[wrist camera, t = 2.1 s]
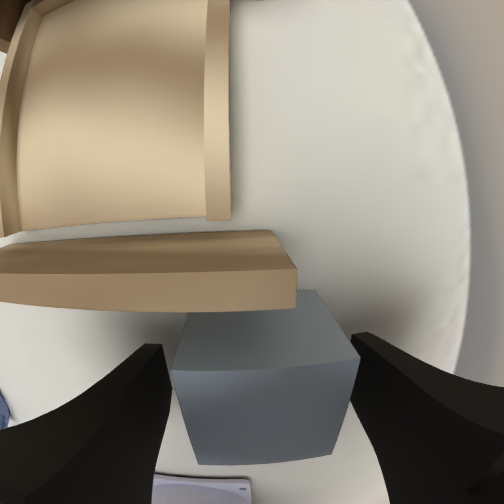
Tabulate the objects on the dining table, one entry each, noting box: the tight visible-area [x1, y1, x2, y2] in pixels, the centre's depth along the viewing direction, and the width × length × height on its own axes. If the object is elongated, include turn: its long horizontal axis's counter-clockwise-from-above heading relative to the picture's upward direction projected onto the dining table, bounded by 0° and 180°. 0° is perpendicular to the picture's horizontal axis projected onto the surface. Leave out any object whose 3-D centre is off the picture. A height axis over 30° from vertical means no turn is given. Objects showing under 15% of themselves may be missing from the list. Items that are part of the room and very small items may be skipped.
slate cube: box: [171, 290, 361, 465], centre depth 8 cm, size 4×4×4 cm
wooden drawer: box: [0, 0, 297, 312], centre depth 5 cm, size 11×11×4 cm
